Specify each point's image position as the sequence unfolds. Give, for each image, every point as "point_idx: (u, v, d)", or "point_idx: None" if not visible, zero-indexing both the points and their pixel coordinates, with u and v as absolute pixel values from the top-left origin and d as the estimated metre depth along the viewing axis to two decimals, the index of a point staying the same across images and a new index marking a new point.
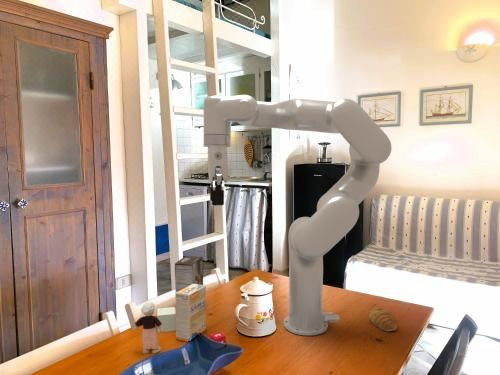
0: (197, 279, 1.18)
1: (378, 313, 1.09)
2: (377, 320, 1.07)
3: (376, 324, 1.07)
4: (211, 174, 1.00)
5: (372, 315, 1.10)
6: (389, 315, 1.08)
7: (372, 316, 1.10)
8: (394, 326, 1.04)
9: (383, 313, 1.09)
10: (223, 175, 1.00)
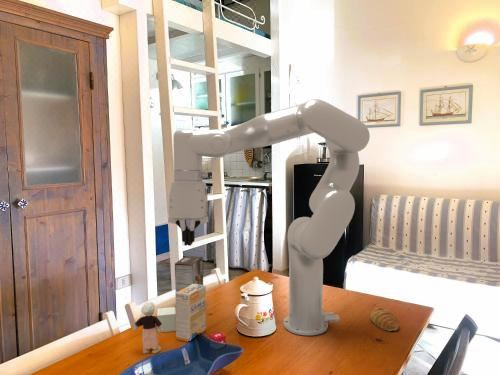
0: (197, 279, 1.18)
1: (379, 313, 1.09)
2: (378, 320, 1.07)
3: (377, 324, 1.08)
4: (205, 210, 0.99)
5: (373, 315, 1.10)
6: (390, 315, 1.08)
7: (373, 316, 1.10)
8: (396, 326, 1.04)
9: (384, 313, 1.09)
10: None
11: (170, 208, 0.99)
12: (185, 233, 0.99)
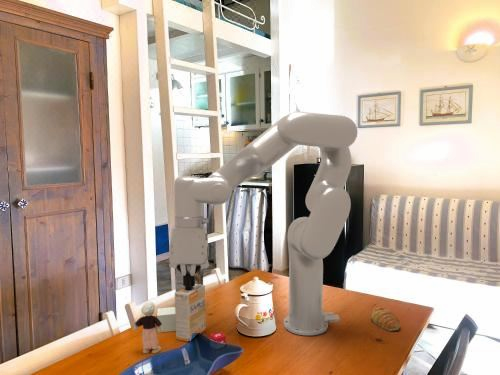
0: (197, 279, 1.18)
1: (380, 313, 1.09)
2: (379, 319, 1.08)
3: (379, 324, 1.08)
4: (205, 256, 1.00)
5: (374, 315, 1.10)
6: (391, 315, 1.08)
7: (374, 316, 1.10)
8: (397, 325, 1.04)
9: (385, 312, 1.09)
10: None
11: (171, 254, 1.00)
12: (186, 278, 1.01)
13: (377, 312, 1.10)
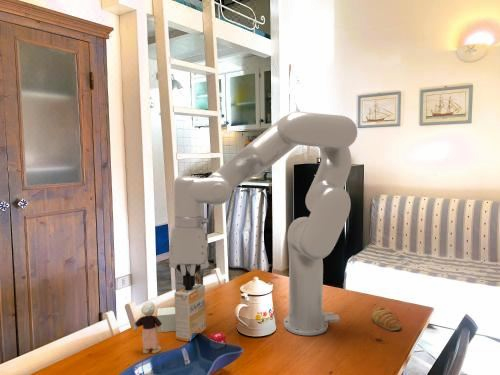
0: (197, 279, 1.18)
1: (381, 313, 1.09)
2: (380, 319, 1.08)
3: (380, 324, 1.08)
4: (205, 256, 1.00)
5: (375, 315, 1.10)
6: (392, 314, 1.09)
7: (375, 316, 1.10)
8: (398, 325, 1.05)
9: (386, 312, 1.09)
10: None
11: (171, 254, 1.00)
12: (186, 278, 1.01)
13: (378, 312, 1.11)
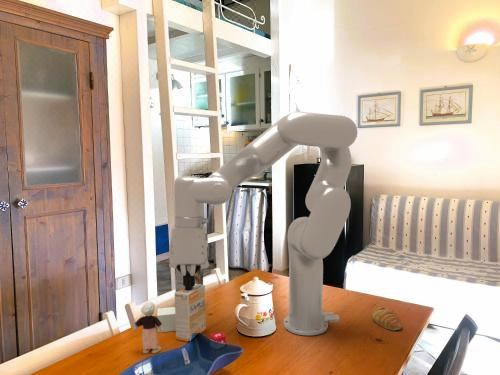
0: (197, 279, 1.18)
1: (382, 313, 1.10)
2: (381, 319, 1.08)
3: (381, 323, 1.08)
4: (205, 256, 1.00)
5: (376, 315, 1.10)
6: (393, 314, 1.09)
7: (376, 316, 1.10)
8: (399, 325, 1.05)
9: (387, 312, 1.09)
10: None
11: (171, 254, 1.00)
12: (186, 278, 1.01)
13: (379, 312, 1.11)
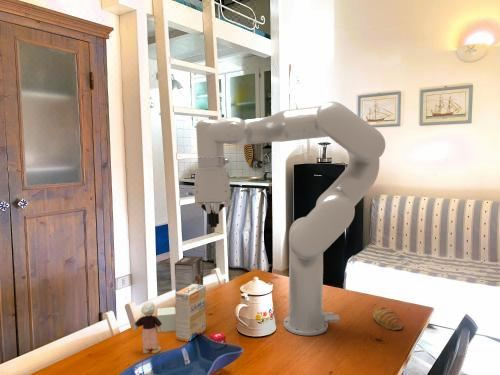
0: (197, 279, 1.18)
1: (382, 312, 1.10)
2: (382, 319, 1.08)
3: (381, 323, 1.08)
4: (228, 194, 1.06)
5: (376, 314, 1.10)
6: (394, 314, 1.09)
7: (377, 315, 1.10)
8: (400, 325, 1.05)
9: (388, 312, 1.09)
10: None
11: (196, 193, 1.06)
12: (211, 216, 1.07)
13: (379, 311, 1.11)
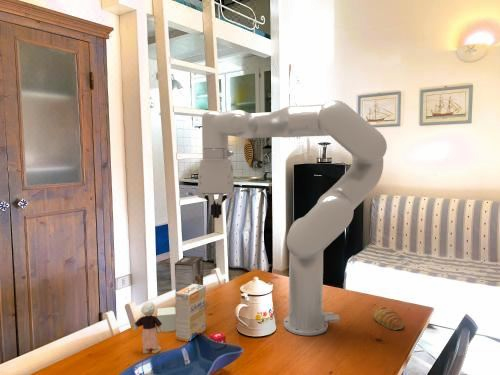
0: (197, 279, 1.18)
1: (383, 312, 1.10)
2: (383, 319, 1.08)
3: (382, 323, 1.08)
4: (231, 185, 1.08)
5: (377, 314, 1.11)
6: (394, 313, 1.09)
7: (377, 315, 1.10)
8: (401, 324, 1.05)
9: (388, 311, 1.10)
10: None
11: (200, 184, 1.08)
12: (213, 207, 1.09)
13: (380, 311, 1.11)
